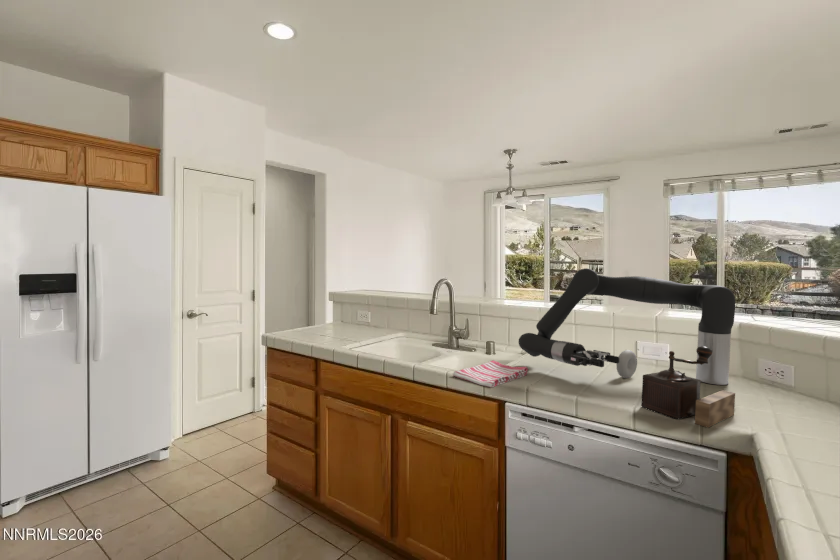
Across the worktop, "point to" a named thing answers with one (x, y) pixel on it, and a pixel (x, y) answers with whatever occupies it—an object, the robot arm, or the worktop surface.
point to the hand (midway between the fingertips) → (611, 362)
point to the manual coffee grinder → (673, 388)
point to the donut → (627, 364)
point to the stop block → (714, 408)
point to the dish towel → (491, 374)
